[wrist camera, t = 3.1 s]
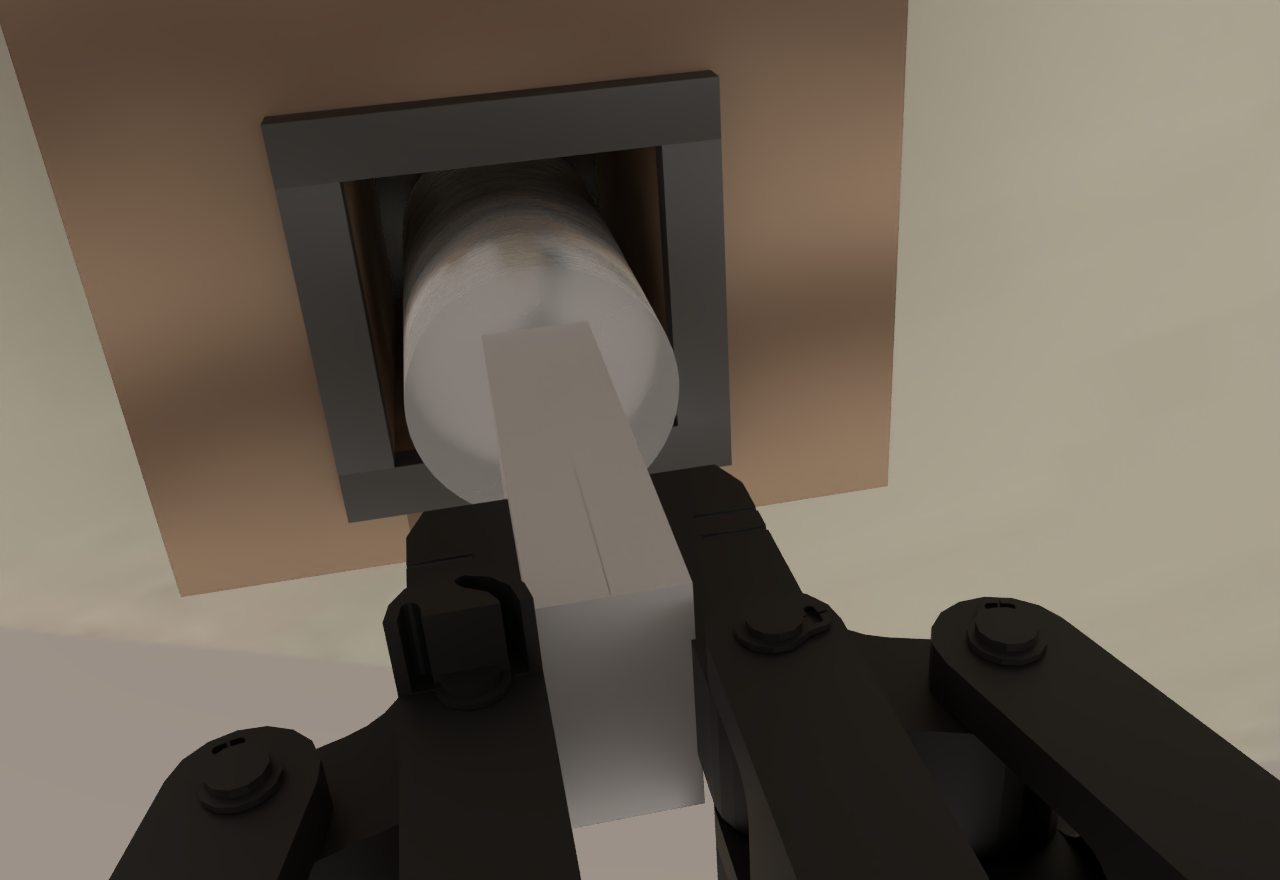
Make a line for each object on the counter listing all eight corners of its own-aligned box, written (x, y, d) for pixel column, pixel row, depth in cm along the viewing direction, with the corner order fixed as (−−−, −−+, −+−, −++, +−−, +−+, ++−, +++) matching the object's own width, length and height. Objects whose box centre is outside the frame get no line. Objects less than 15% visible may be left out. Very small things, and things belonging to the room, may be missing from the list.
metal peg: (387, 148, 22) (381, 288, 15) (588, 125, 23) (671, 251, 16) (419, 336, 24) (427, 536, 17) (605, 312, 25) (685, 496, 18)
